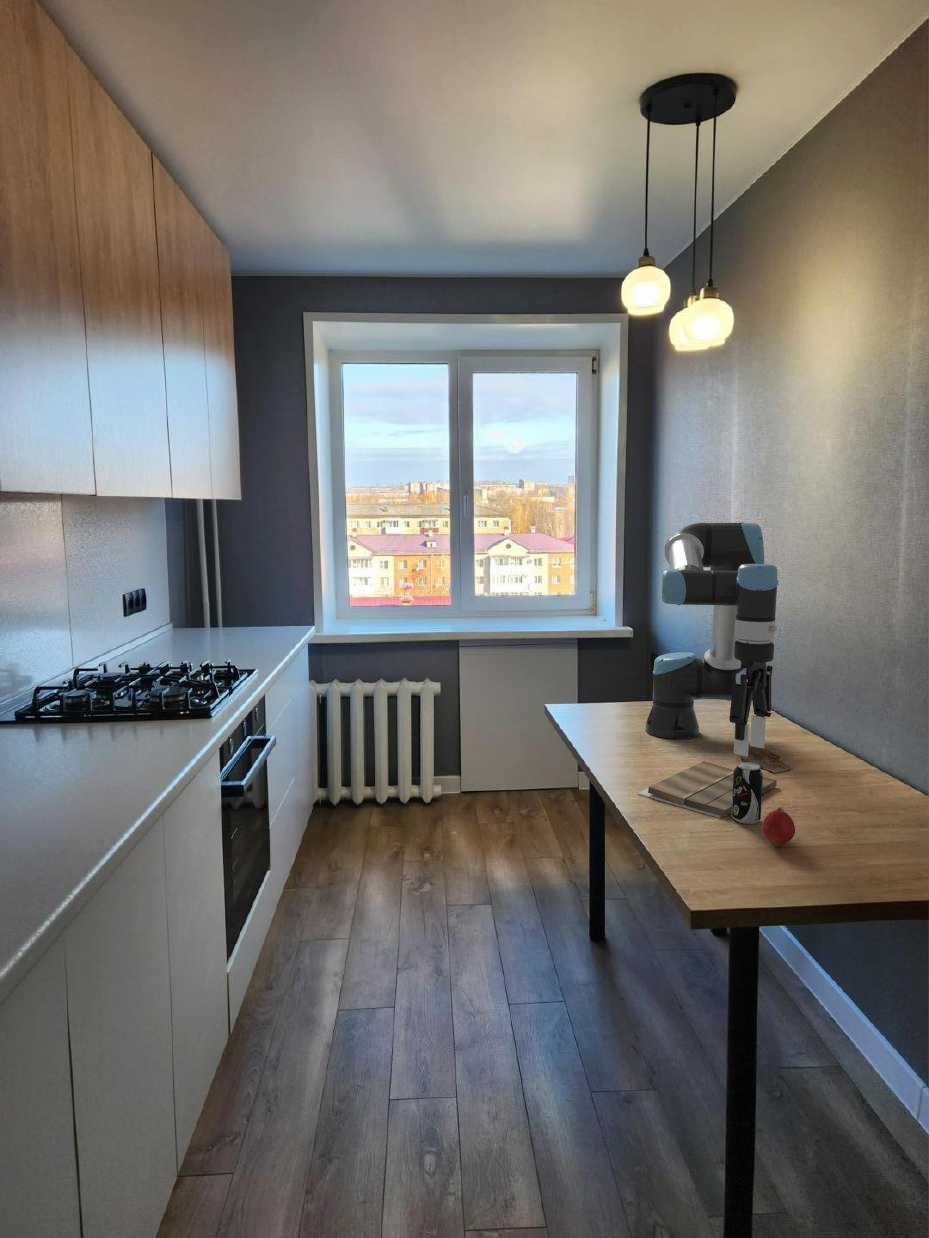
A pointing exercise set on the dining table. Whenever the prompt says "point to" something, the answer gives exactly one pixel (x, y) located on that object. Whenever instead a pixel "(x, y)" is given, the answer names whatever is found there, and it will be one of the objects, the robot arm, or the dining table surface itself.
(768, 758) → the wooden fragment
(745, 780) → the beverage can
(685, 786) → the plank
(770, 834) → the pomegranate
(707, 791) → the laid board
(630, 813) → the dining table surface
